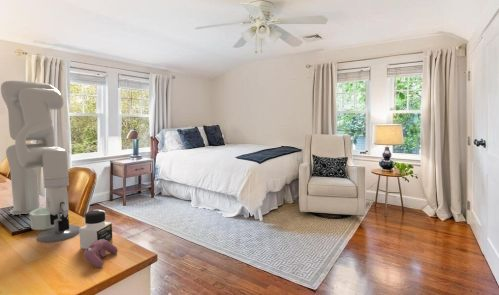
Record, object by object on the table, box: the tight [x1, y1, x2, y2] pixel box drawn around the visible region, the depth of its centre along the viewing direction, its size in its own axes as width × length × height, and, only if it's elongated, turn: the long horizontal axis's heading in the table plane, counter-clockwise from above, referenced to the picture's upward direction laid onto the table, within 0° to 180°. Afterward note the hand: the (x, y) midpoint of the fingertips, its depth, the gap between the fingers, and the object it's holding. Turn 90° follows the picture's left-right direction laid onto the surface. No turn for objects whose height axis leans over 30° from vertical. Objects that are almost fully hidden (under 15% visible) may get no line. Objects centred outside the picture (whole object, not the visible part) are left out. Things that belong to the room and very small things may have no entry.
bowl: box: [28, 206, 63, 231], centre depth 111 cm, size 12×12×6 cm
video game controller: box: [83, 239, 119, 268], centre depth 84 cm, size 10×5×7 cm, turn 178°
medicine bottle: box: [78, 209, 114, 250], centre depth 94 cm, size 7×7×12 cm
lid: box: [37, 218, 81, 243], centre depth 102 cm, size 13×13×6 cm
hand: (59, 226), depth 102 cm, fingers open, 9 cm apart
